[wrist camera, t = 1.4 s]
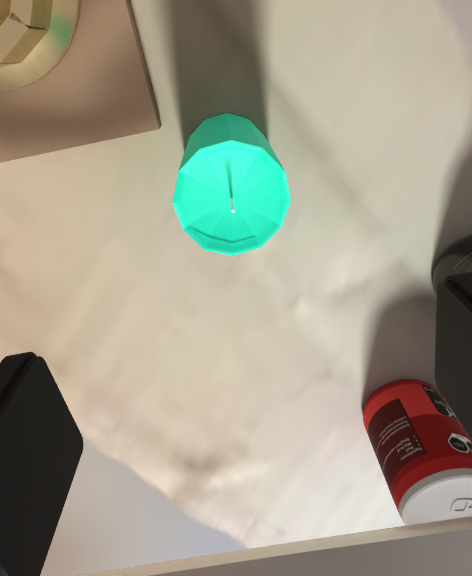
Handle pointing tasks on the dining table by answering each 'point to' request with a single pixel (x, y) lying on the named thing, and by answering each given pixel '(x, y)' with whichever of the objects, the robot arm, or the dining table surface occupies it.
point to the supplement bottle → (453, 262)
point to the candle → (230, 186)
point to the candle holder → (34, 38)
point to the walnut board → (84, 89)
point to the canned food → (420, 451)
